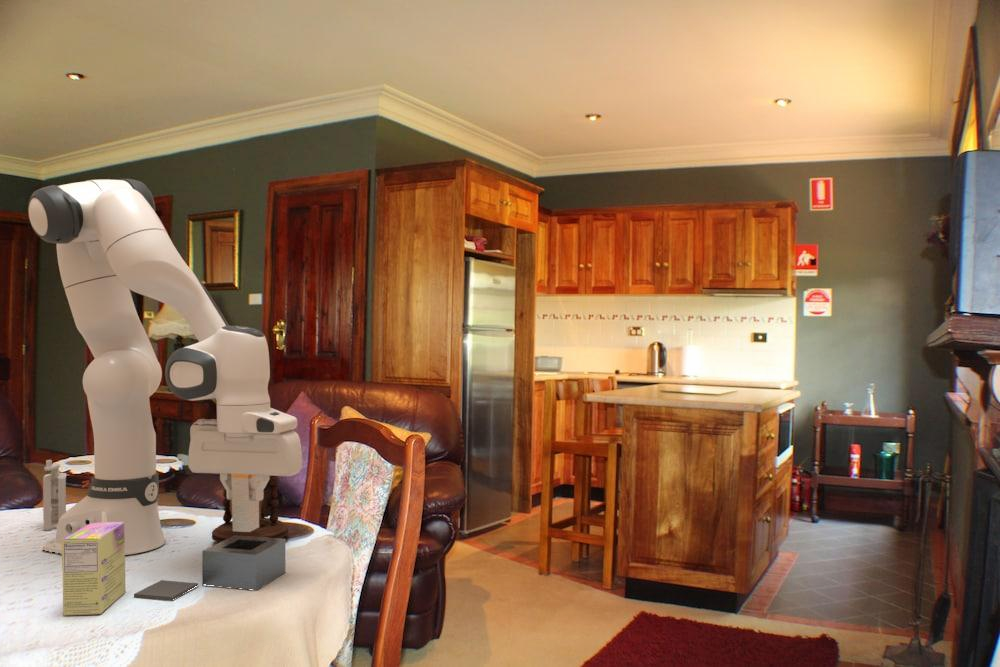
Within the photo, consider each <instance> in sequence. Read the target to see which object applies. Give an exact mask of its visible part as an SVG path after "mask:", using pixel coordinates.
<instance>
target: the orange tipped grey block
mask: <svg viewBox="0 0 1000 667" xmlns="http://www.w3.org/2000/svg"><path fill="white" fill-rule="evenodd" d="M231 477H232V519H231V521H232V523H233V531H238V532H251V531H253V530H255V529H257V528H259V501H252V500H251V491H252V490H254V489H256V487H257V485H258V481H256V475H245V474H231Z"/></svg>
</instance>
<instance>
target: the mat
mask: <svg viewBox="0 0 1000 667" xmlns="http://www.w3.org/2000/svg"><path fill="white" fill-rule="evenodd" d="M197 585H198V586H199V583H198V582H189V581H188V582H186V581H185V582H184V581H176V580H163V579H162V580H159V581H157V582H155V583H153V584H151V585H149V586H146V587H145V588H143V589H141V590H139V591H137V592H135V593H134V594H133V598H137V599H146V598H147V600H156V599H158V600H159V601H167V600H173V599H175V598H177V597H178V596H180V595H182V594H183V593H185V592H187V591H188V590H190V589H192V588H194V587H195V586H197ZM182 596H183V595H182ZM180 597H181V596H180ZM177 599H178V598H177ZM175 600H176V599H175ZM173 601H174V600H173Z"/></svg>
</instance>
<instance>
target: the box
mask: <svg viewBox="0 0 1000 667" xmlns="http://www.w3.org/2000/svg"><path fill="white" fill-rule="evenodd" d="M61 541H62V554H61V562H62V564H61V565H62V566H61V567H62V616H63V617H67V616H68V617H69V616H89V615H90V616H93V615H95V616H96V615H101V614H103V612H104V611H106V610H107V609H108V608H109V607H110V606H111V605H112V604H113V603H115V601H117V600H118V599H119V598H120V597H122V596H123V595H124V594H126V555H125V537H124V522H103V523H90V524H88V525H87V526H85V527H83V528H81V529H80V530H78V531H76V532H75V533H73V534H71V535H69V536H68V537H66V538H64V539H62V540H61Z"/></svg>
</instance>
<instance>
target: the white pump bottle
mask: <svg viewBox="0 0 1000 667" xmlns="http://www.w3.org/2000/svg"><path fill="white" fill-rule="evenodd" d="M60 467H61V464H60V463H53V461H52V459H46V460H45V466H44V467H43V468H44V469H43V470H44V471H46V472H49V471H50V473H48V474H44V476H43V479H42V489H43V490H42V495H43V496H42V504H43V505H42V506H43V509H42V511H43V513H42V514H43V515H42V516H43V528H42V529H43V531H44V530H46V531H51V530H53V529H54V528H57V525H58V521H59V519H60V517H61V516H62V515H63V514H64V513H65V512H67V498H66V497H67V489H66V488H67V486H66V485H67V483H66V482H67V473H66V472H61V471H60V469H59V468H60ZM54 530H55V529H54Z"/></svg>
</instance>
